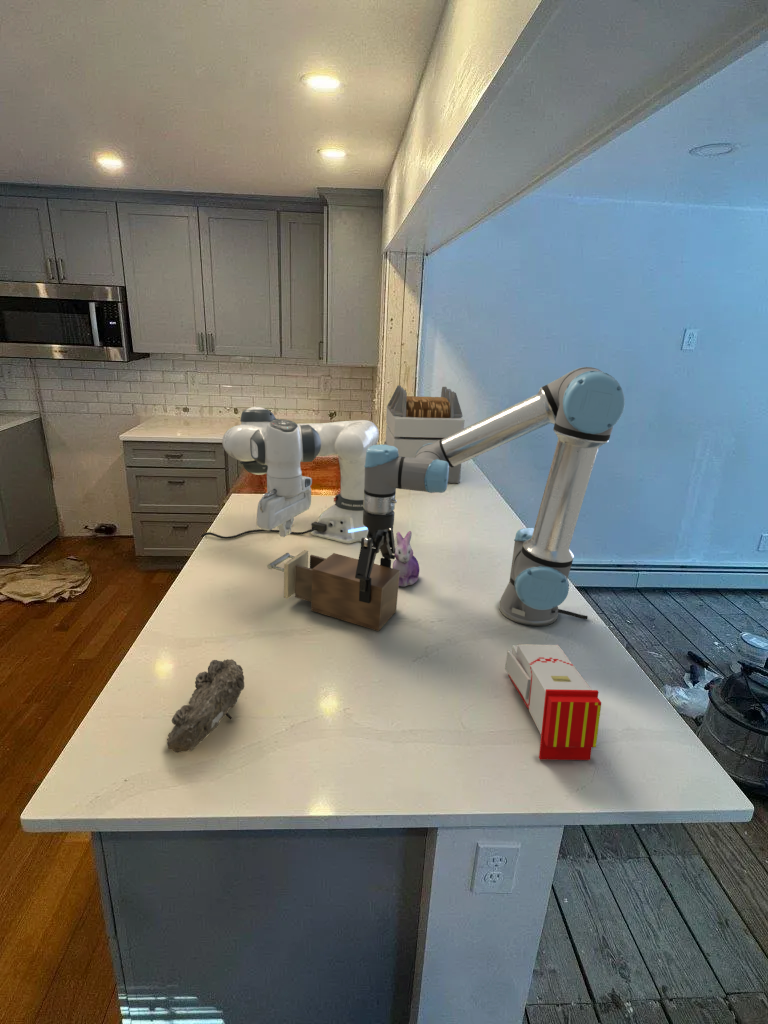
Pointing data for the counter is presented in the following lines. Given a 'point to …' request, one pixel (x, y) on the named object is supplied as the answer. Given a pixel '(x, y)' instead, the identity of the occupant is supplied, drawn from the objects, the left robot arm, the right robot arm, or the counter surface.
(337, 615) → the cabinet
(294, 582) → the drawer
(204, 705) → the fossil
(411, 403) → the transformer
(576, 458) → the right robot arm
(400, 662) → the counter surface
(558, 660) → the toy
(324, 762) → the counter surface
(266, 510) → the left robot arm
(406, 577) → the figurine
